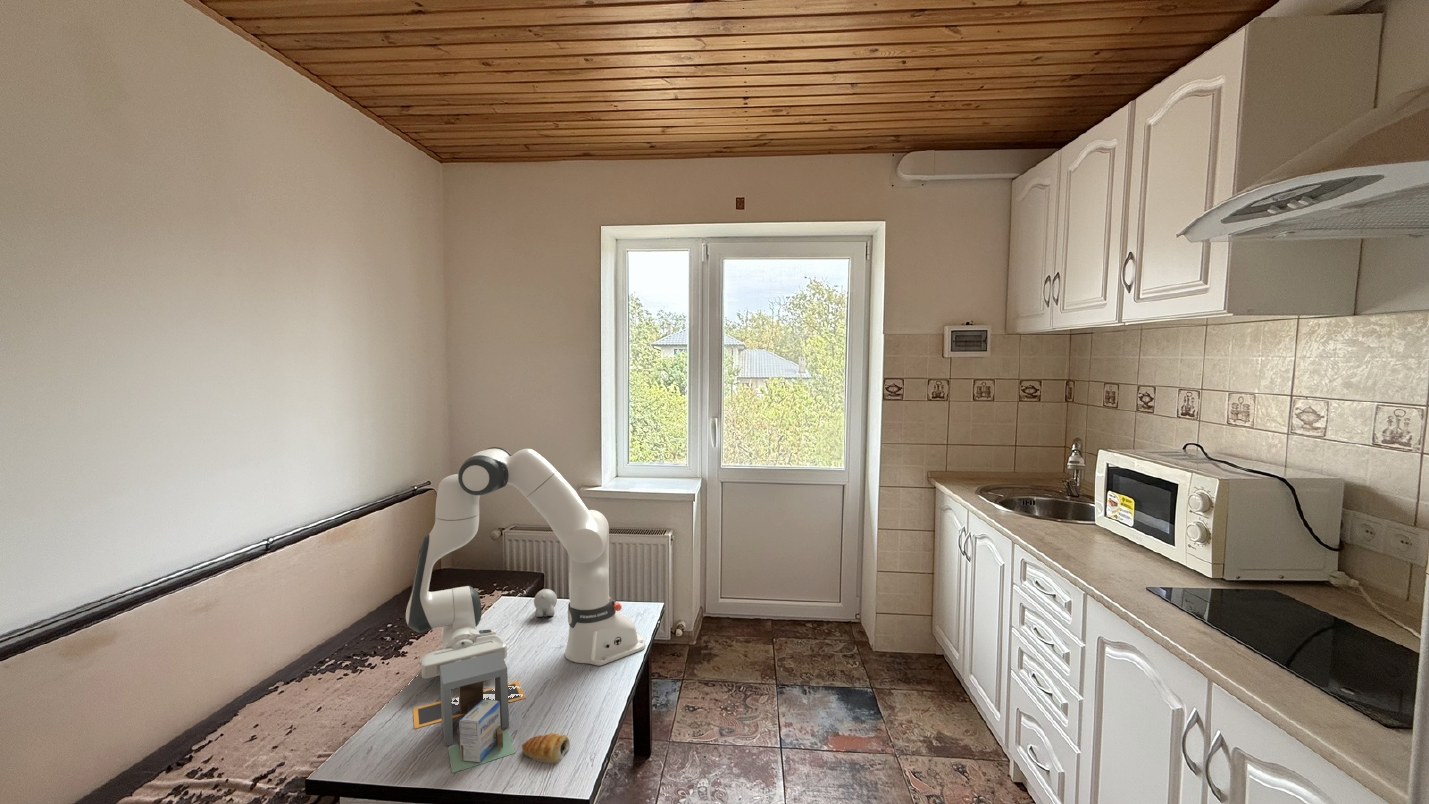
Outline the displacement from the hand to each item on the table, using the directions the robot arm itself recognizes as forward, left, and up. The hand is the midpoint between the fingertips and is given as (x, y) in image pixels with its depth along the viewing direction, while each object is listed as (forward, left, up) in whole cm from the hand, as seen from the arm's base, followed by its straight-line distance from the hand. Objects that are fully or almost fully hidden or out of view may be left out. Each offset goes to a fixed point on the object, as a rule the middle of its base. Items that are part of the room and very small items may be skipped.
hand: (468, 670), depth 142 cm
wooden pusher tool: (0, +16, -5) cm, 17 cm away
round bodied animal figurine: (-28, -39, -6) cm, 48 cm away
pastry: (-12, +32, -6) cm, 35 cm away
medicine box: (0, +25, -6) cm, 25 cm away
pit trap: (0, +4, -6) cm, 7 cm away
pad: (0, +24, -6) cm, 25 cm away
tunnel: (0, +14, -6) cm, 16 cm away
